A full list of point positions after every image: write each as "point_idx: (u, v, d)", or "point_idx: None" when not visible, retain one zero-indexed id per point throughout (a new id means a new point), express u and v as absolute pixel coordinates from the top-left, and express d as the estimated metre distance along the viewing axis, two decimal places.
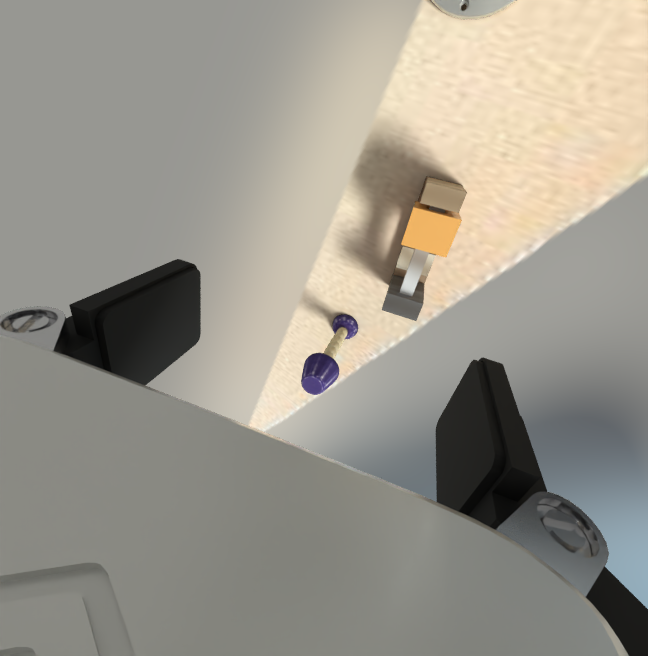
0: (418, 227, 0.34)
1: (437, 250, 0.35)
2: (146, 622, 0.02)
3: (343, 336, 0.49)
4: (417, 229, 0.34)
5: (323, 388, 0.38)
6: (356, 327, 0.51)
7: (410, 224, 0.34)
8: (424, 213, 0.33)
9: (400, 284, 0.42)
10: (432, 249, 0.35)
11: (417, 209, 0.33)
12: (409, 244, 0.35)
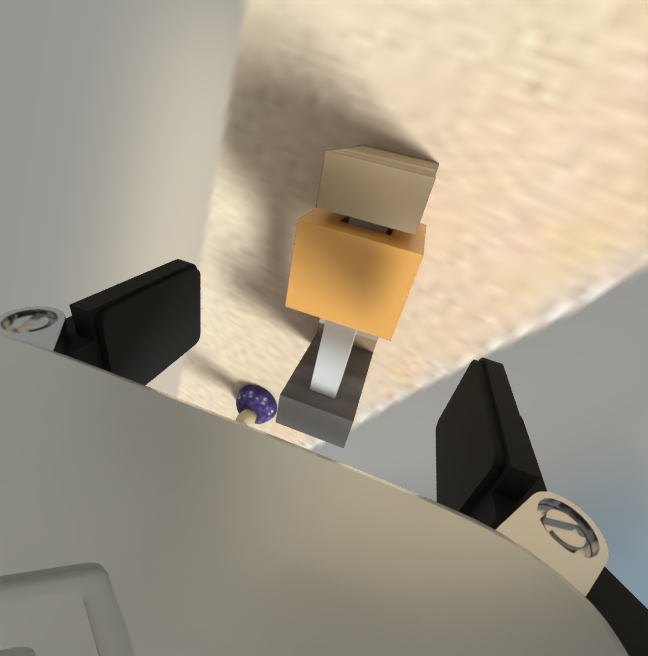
0: (317, 269, 0.13)
1: (369, 324, 0.14)
2: (146, 620, 0.02)
3: None
4: (316, 274, 0.14)
5: None
6: (272, 407, 0.31)
7: (298, 261, 0.14)
8: (326, 236, 0.13)
9: None
10: (356, 321, 0.14)
11: (308, 225, 0.13)
12: (303, 307, 0.15)
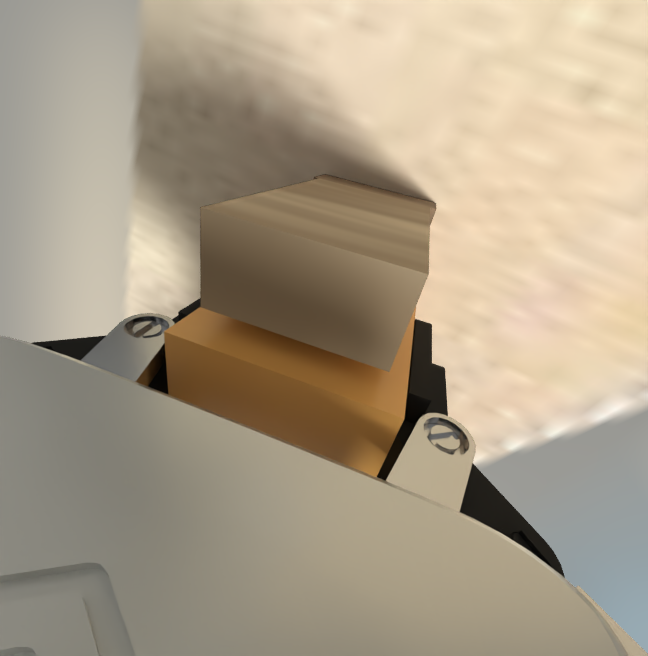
0: None
1: None
2: (146, 620, 0.02)
3: None
4: None
5: None
6: None
7: (178, 396, 0.07)
8: (218, 364, 0.07)
9: None
10: None
11: (184, 342, 0.07)
12: None
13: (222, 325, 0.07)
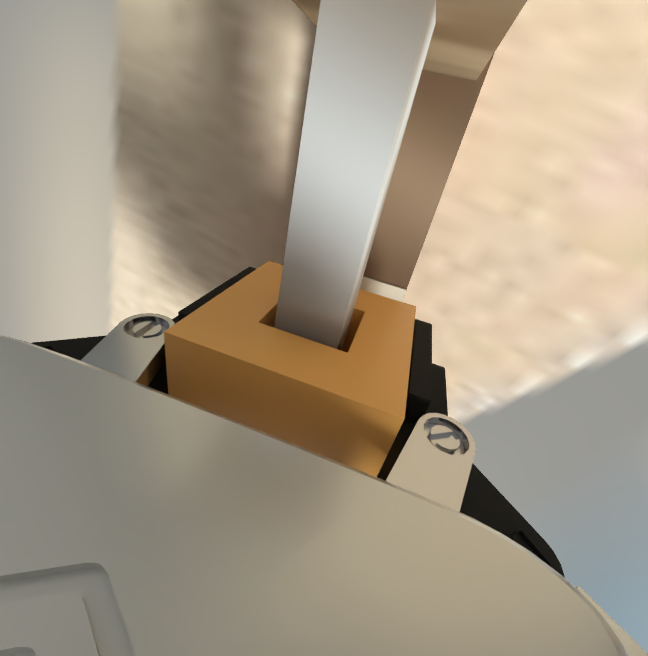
0: None
1: None
2: (146, 620, 0.02)
3: None
4: None
5: None
6: None
7: (178, 397, 0.07)
8: (218, 364, 0.07)
9: None
10: None
11: (184, 342, 0.07)
12: None
13: (222, 325, 0.07)
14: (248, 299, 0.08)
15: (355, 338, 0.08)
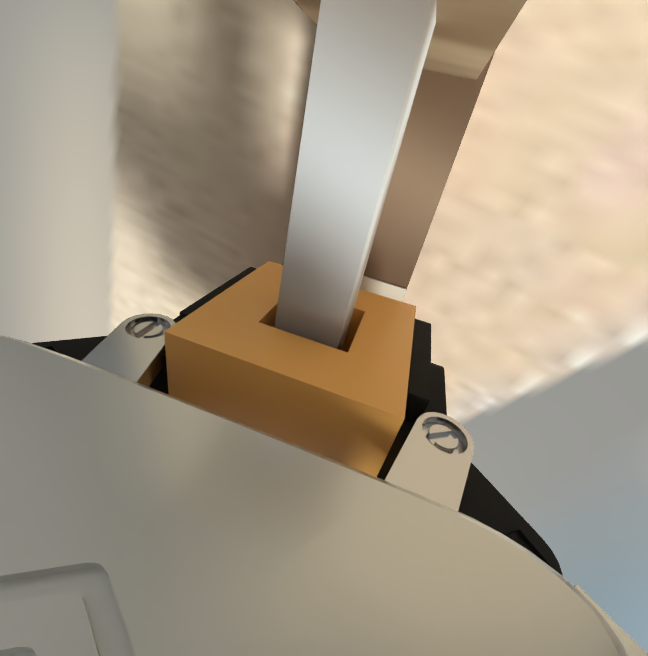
0: None
1: None
2: (146, 620, 0.02)
3: None
4: None
5: None
6: None
7: (179, 396, 0.07)
8: (219, 364, 0.07)
9: None
10: None
11: (184, 342, 0.07)
12: None
13: (222, 325, 0.07)
14: (248, 299, 0.08)
15: (355, 338, 0.08)
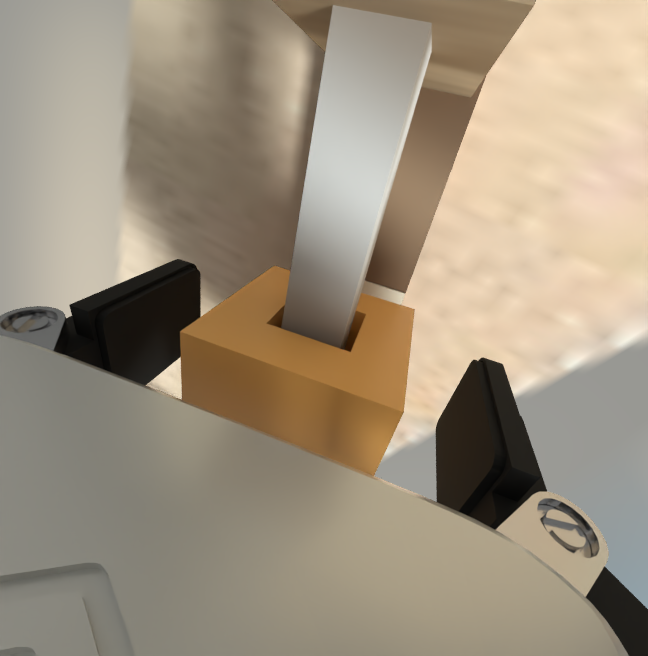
0: (224, 408, 0.08)
1: None
2: (146, 620, 0.02)
3: None
4: (222, 414, 0.08)
5: None
6: None
7: (191, 393, 0.08)
8: (231, 362, 0.07)
9: None
10: None
11: (198, 342, 0.07)
12: None
13: (233, 326, 0.08)
14: (256, 302, 0.09)
15: (357, 338, 0.08)
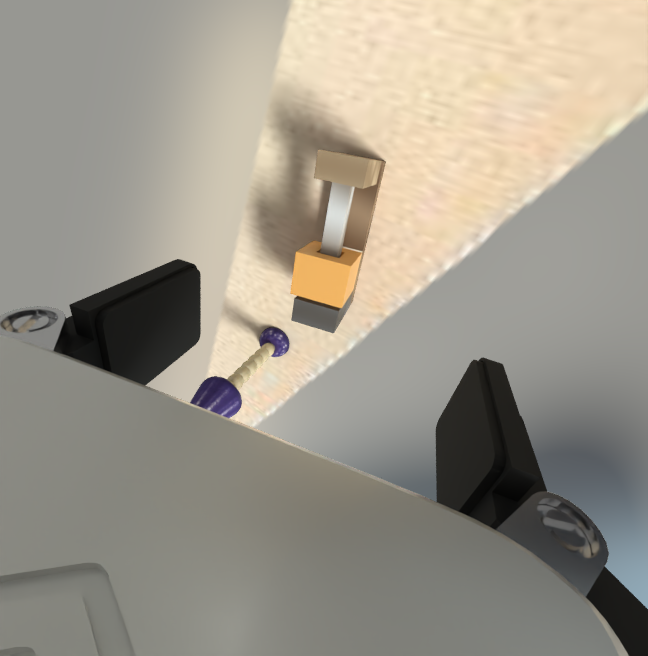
0: (305, 274, 0.29)
1: (330, 300, 0.29)
2: (146, 620, 0.02)
3: (265, 354, 0.40)
4: (304, 276, 0.29)
5: None
6: (286, 342, 0.43)
7: (296, 271, 0.29)
8: (308, 259, 0.28)
9: None
10: (325, 299, 0.29)
11: (300, 254, 0.28)
12: (299, 293, 0.30)
13: (307, 251, 0.29)
14: (311, 248, 0.30)
15: (341, 256, 0.29)
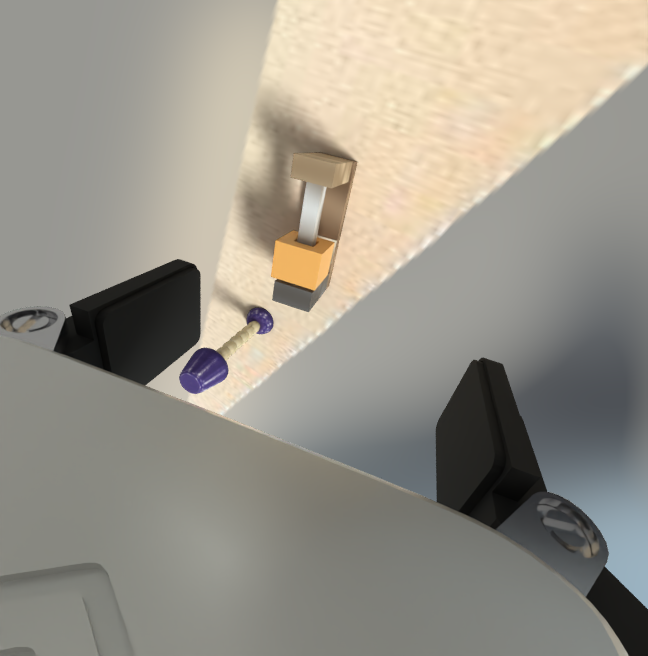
0: (283, 260, 0.33)
1: (305, 283, 0.34)
2: (146, 620, 0.02)
3: (251, 330, 0.45)
4: (283, 262, 0.33)
5: (201, 386, 0.35)
6: (270, 321, 0.48)
7: (275, 257, 0.33)
8: (286, 247, 0.33)
9: None
10: (300, 282, 0.34)
11: (279, 242, 0.33)
12: (278, 276, 0.34)
13: (286, 240, 0.33)
14: (290, 237, 0.34)
15: (315, 245, 0.34)
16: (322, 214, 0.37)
